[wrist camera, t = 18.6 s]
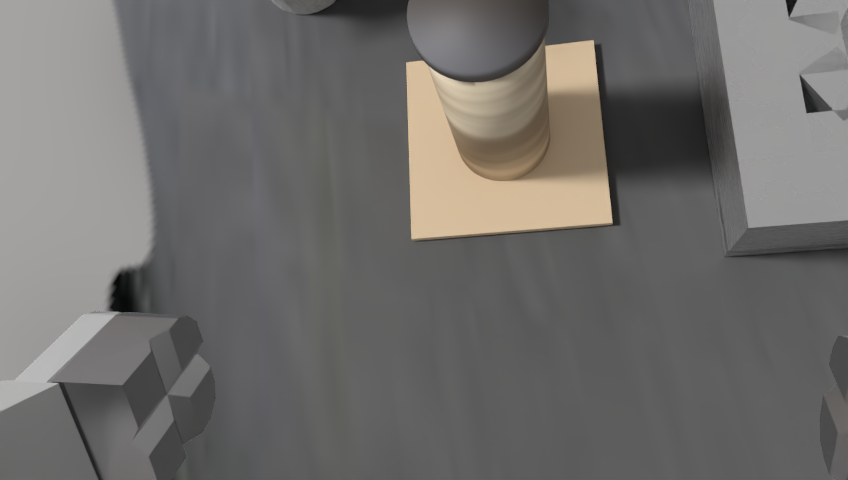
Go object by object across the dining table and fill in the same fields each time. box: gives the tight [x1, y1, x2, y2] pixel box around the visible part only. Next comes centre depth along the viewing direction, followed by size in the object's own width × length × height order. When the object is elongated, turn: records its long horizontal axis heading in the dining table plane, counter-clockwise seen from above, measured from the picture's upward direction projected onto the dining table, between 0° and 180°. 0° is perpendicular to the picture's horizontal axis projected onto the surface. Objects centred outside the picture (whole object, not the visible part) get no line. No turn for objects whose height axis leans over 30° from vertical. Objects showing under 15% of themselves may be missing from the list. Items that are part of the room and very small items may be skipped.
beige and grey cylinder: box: [407, 0, 550, 181], centre depth 33 cm, size 5×5×12 cm
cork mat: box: [406, 40, 613, 241], centre depth 39 cm, size 10×10×1 cm
